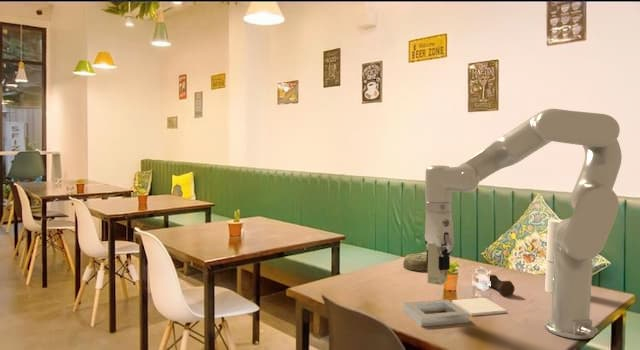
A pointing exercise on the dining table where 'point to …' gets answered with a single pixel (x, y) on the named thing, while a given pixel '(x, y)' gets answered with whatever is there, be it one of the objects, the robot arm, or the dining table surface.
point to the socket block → (450, 317)
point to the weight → (416, 262)
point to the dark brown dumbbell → (502, 286)
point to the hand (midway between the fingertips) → (437, 265)
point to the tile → (479, 306)
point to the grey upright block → (435, 266)
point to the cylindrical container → (550, 255)
